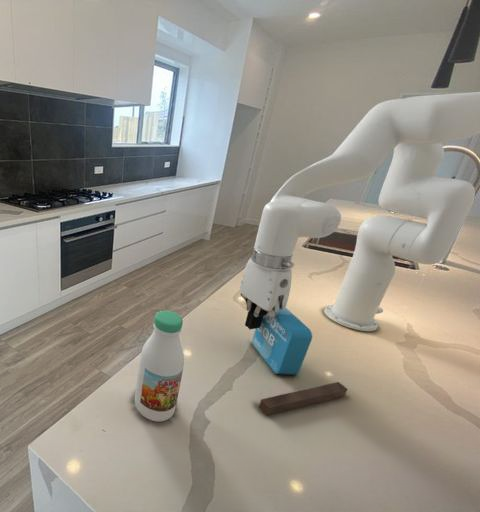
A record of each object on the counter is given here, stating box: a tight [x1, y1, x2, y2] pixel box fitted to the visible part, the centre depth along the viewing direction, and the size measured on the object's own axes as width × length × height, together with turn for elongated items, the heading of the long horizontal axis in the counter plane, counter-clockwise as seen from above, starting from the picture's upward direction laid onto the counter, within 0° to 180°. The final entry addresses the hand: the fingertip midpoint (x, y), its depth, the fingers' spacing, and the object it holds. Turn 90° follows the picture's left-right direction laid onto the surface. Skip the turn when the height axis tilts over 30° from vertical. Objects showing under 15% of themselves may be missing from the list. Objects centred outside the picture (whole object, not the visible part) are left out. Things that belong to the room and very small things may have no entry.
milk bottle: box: [134, 310, 185, 422], centre depth 53 cm, size 8×8×20 cm
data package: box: [252, 306, 313, 376], centre depth 69 cm, size 12×4×12 cm, turn 0°
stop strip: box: [258, 381, 349, 416], centre depth 59 cm, size 20×2×2 cm, turn 106°
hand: (252, 326), depth 73 cm, fingers closed
